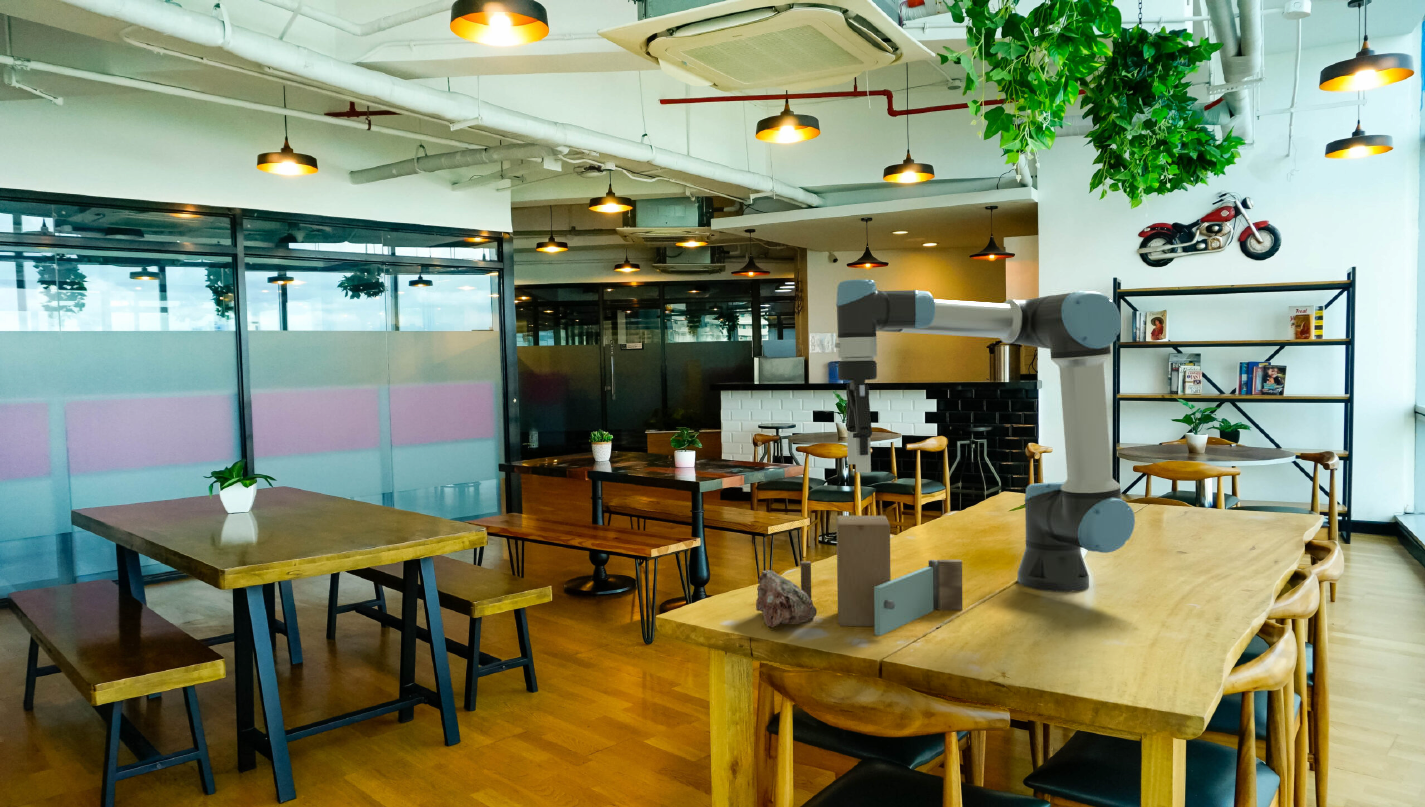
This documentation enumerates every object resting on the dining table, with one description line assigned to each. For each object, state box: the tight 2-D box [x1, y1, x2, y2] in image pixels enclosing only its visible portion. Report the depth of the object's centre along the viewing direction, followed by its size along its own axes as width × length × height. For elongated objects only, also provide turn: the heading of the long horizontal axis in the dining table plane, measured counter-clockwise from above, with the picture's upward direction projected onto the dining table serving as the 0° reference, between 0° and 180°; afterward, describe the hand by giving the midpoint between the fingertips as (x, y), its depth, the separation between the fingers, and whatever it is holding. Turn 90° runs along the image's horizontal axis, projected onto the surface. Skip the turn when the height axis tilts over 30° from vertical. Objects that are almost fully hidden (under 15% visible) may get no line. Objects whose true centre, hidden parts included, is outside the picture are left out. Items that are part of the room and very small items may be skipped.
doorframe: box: [800, 559, 963, 611], centre depth 184 cm, size 33×2×10 cm, turn 88°
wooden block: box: [836, 515, 892, 628], centre depth 177 cm, size 10×10×20 cm
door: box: [874, 565, 934, 636], centre depth 174 cm, size 21×3×9 cm, turn 139°
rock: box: [755, 569, 818, 628], centre depth 177 cm, size 16×11×15 cm
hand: (858, 468), depth 176 cm, fingers open, 13 cm apart
